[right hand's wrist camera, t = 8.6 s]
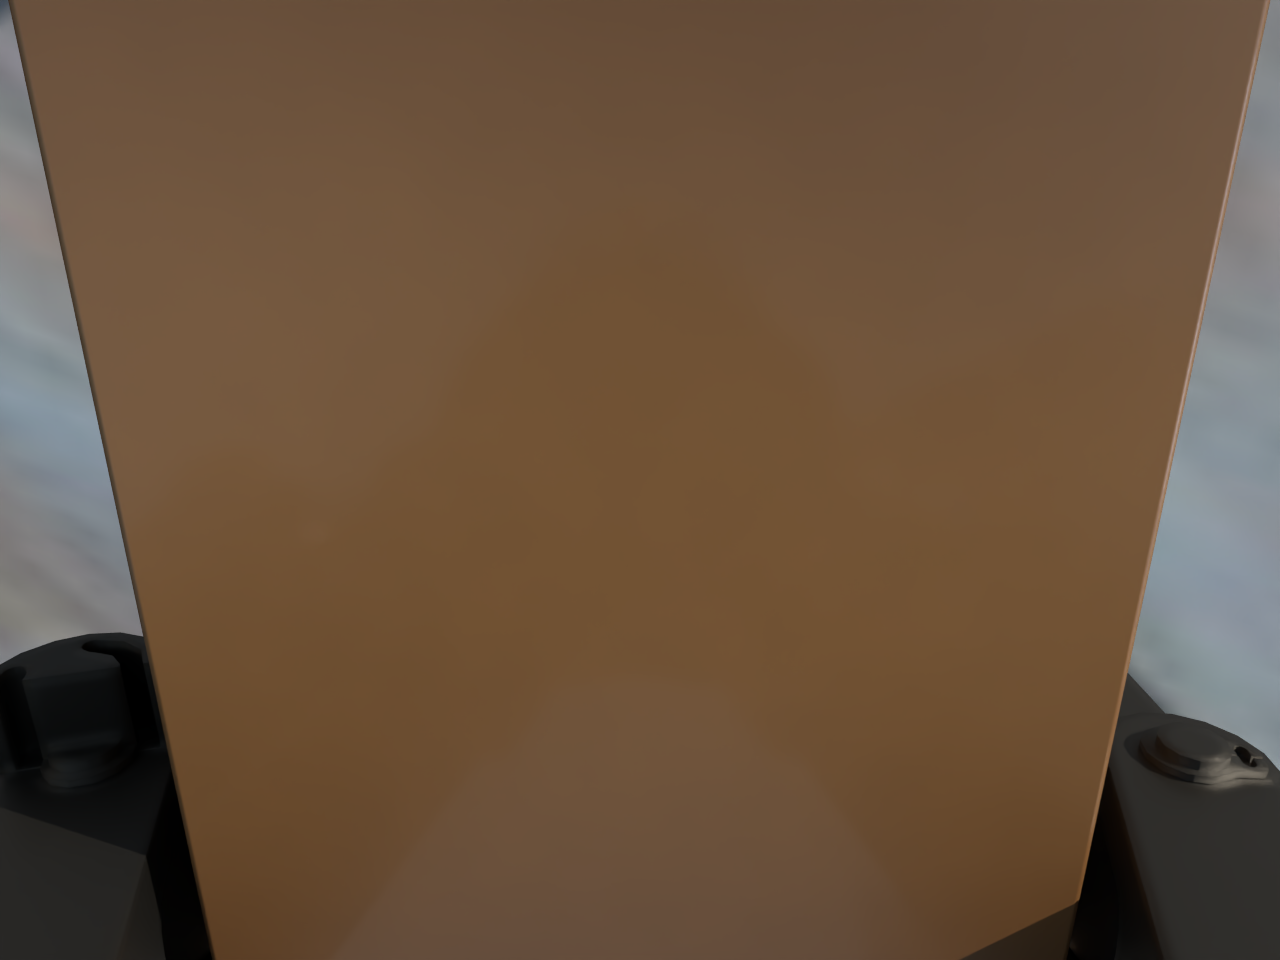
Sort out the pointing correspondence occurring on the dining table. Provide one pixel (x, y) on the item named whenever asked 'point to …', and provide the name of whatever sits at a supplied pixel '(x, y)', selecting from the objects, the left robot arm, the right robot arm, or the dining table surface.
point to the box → (639, 449)
